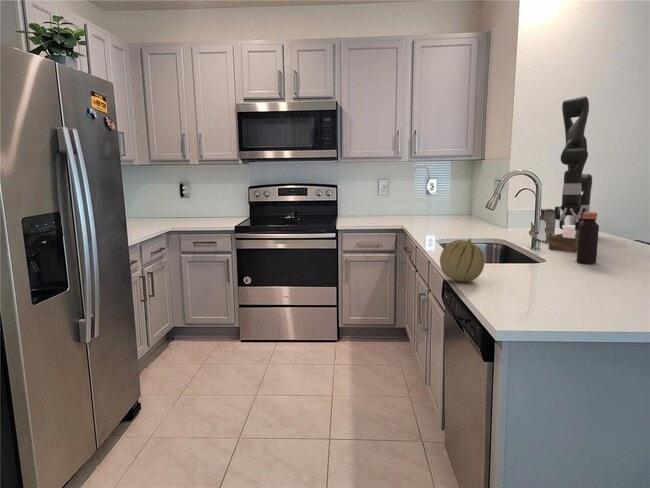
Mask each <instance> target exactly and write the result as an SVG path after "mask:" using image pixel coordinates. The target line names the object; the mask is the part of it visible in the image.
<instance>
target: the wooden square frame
mask: <svg viewBox="0 0 650 488" xmlns="http://www.w3.org/2000/svg"><path fill="white" fill-rule="evenodd" d="M577 246H578V235H575V238H566V237H563V232H562V233H557V234H555V235H552V236H549V242H548V250H556V251H562V252H571V253H577Z"/></svg>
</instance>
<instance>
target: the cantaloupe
mask: <svg viewBox="0 0 650 488" xmlns="http://www.w3.org/2000/svg"><path fill="white" fill-rule="evenodd" d="M484 255H485V254H484V253H483V251H482V249H481V247H479V246H478V245H477V244H475V243H474V242H472V239H471V238H468V240H465V239H456V240H454V241H451V242H449V243H448V244H447V245H446V246H445V247H444V248H443V249H442V251H441V253H440V257H439V264H440V269H441V271H442V273H443V274H444V275H445V277H448V278H449V279H451V280H453V281H454V282H457V283H468V282H472V281H474V280H476V279H477V278H478V277H479V276H480V275H481V274H482V272H483V270H484V267H485V256H484Z"/></svg>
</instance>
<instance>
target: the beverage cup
mask: <svg viewBox="0 0 650 488" xmlns="http://www.w3.org/2000/svg"><path fill="white" fill-rule="evenodd" d="M570 222H571V215H570V220H569V219H568V224H564V225H562V227H563V229H562V233H563V237H566V238H575V234H576V230H575V225H570Z"/></svg>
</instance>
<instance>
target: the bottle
mask: <svg viewBox="0 0 650 488" xmlns="http://www.w3.org/2000/svg"><path fill="white" fill-rule="evenodd" d="M582 218H583V222H582V223H581V224H580V225H579V231H578V246H577V252H576V259H575V261H576V262H577V263H578V264H583V265H594V264H596V263H597V256H598V255H597V254H598V246H599V245H598V243H599V232H600V231H599V230H600V226H599V224H598V223H597V222H596V221H597V218H598V213H597V212H592V211H589V212H583V214H582Z"/></svg>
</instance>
